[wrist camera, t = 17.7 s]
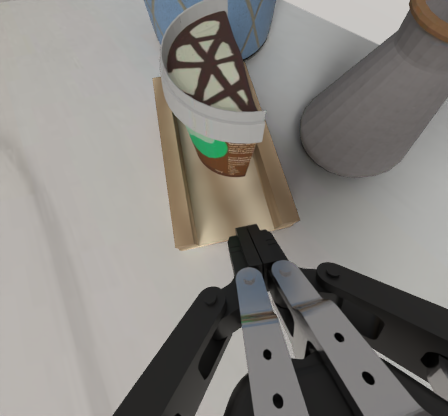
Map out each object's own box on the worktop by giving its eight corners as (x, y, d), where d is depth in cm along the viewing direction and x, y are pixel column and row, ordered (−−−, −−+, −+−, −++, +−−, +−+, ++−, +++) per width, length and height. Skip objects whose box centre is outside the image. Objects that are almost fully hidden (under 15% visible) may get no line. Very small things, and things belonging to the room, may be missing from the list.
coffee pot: (328, 203, 20) (588, 62, 6) (274, 130, 23) (354, -85, 9) (462, 129, 23) (878, -100, 8) (398, 72, 25) (620, -170, 11)
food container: (179, 110, 23) (145, 1, 13) (226, 102, 23) (225, -11, 13) (193, 198, 19) (160, 137, 10) (248, 188, 19) (269, 118, 10)
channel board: (244, 91, 25) (249, 49, 20) (289, 227, 19) (310, 215, 14) (161, 107, 24) (144, 68, 19) (182, 250, 19) (166, 247, 14)
